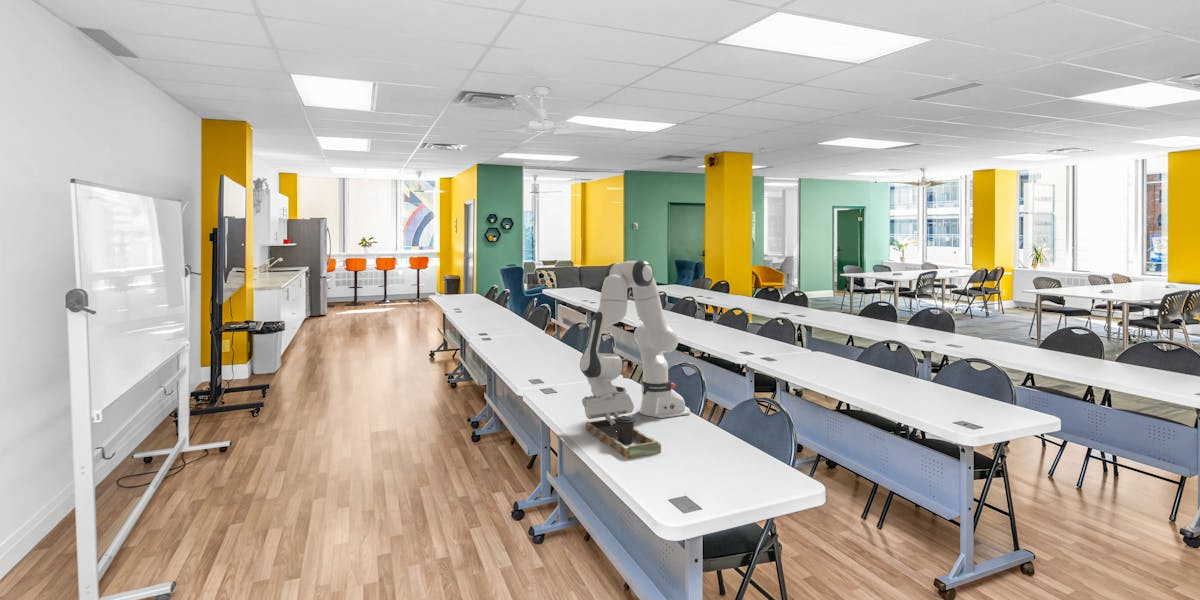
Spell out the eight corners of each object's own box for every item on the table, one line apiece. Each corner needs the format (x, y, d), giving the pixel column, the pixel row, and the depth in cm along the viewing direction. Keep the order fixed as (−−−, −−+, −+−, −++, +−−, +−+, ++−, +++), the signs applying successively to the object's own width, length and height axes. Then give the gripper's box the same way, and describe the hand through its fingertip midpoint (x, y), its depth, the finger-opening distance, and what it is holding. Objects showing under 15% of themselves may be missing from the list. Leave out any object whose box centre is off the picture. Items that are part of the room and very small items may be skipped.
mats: (592, 430, 256) (592, 430, 256) (614, 427, 260) (614, 426, 260) (604, 438, 246) (604, 438, 246) (627, 435, 250) (627, 434, 250)
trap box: (585, 429, 257) (585, 420, 257) (616, 425, 263) (616, 415, 263) (627, 458, 225) (627, 447, 224) (660, 452, 231) (661, 441, 230)
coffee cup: (624, 437, 247) (624, 413, 246) (639, 442, 241) (639, 417, 240) (609, 442, 241) (609, 417, 240) (625, 448, 236) (625, 421, 234)
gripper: (582, 393, 249) (593, 424, 241) (628, 387, 258) (640, 417, 250) (578, 401, 253) (588, 432, 246) (623, 395, 262) (635, 425, 254)
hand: (615, 424), depth 248 cm, fingers closed
